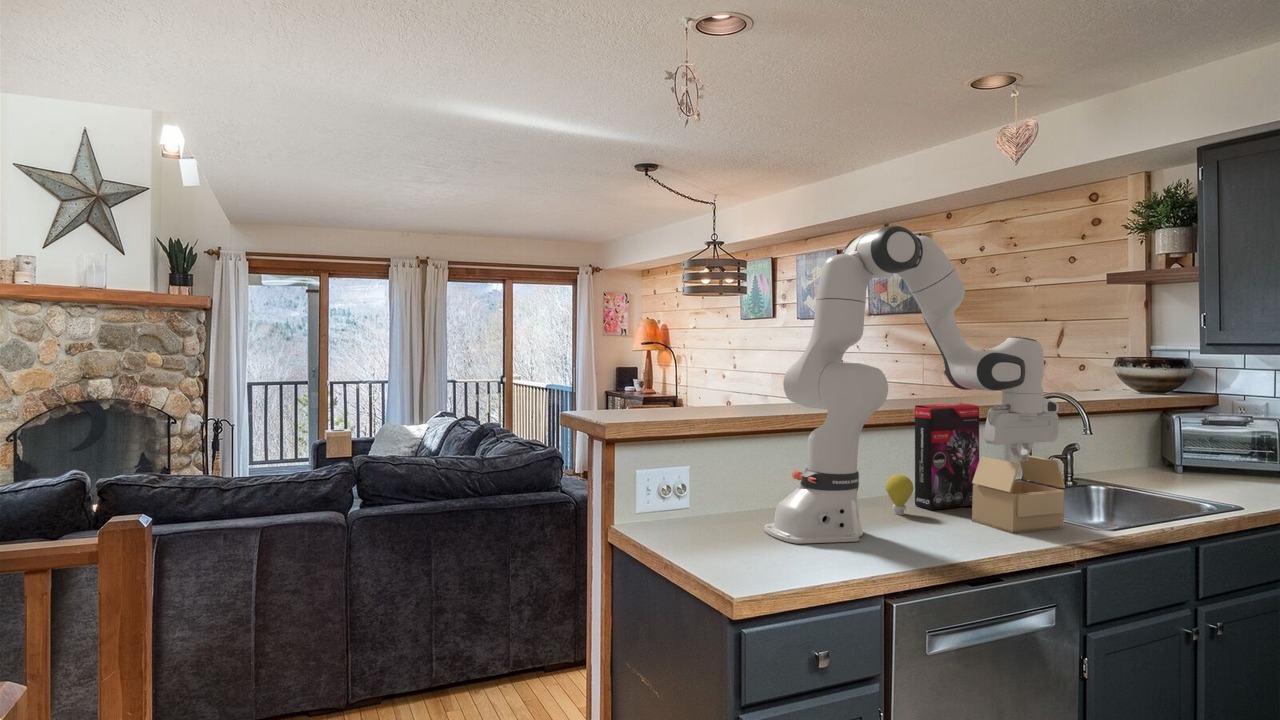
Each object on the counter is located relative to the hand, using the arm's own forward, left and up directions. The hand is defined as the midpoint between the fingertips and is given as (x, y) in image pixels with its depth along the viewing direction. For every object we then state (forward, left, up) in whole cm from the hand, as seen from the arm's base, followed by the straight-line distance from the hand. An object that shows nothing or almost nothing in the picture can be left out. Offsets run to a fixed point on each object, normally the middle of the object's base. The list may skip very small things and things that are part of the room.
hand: (1020, 461), depth 175 cm
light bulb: (-21, +18, -15) cm, 31 cm away
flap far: (+8, 0, -6) cm, 10 cm away
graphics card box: (-3, +21, -16) cm, 26 cm away
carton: (-1, 0, -15) cm, 15 cm away
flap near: (-9, 0, -6) cm, 11 cm away
